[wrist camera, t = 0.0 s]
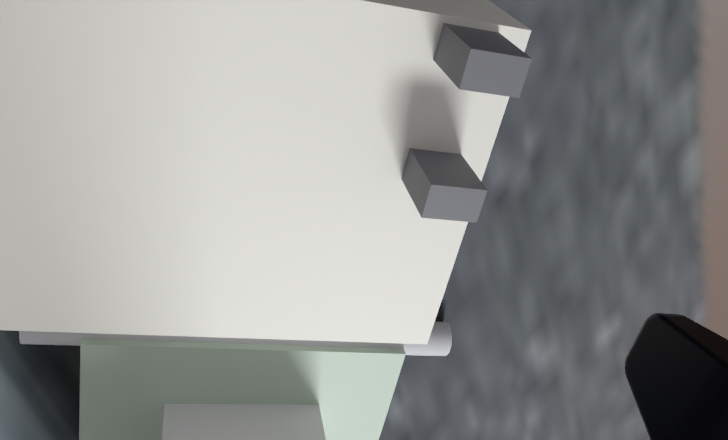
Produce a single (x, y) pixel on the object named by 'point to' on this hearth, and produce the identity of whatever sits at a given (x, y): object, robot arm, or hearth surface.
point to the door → (235, 385)
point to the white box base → (244, 162)
